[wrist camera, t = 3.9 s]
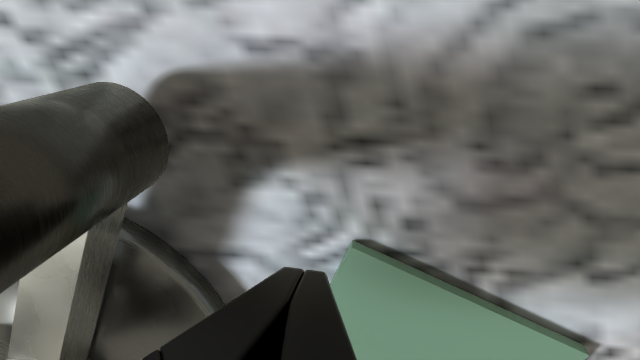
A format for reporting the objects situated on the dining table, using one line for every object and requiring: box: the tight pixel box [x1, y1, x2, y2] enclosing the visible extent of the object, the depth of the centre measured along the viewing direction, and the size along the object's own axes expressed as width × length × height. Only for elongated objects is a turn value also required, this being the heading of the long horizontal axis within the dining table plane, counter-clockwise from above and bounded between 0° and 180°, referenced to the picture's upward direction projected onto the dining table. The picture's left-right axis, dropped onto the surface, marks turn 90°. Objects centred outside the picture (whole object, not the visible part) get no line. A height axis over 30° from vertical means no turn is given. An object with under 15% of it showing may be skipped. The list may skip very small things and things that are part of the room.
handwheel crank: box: [0, 82, 169, 360], centre depth 10 cm, size 12×6×5 cm, turn 157°
